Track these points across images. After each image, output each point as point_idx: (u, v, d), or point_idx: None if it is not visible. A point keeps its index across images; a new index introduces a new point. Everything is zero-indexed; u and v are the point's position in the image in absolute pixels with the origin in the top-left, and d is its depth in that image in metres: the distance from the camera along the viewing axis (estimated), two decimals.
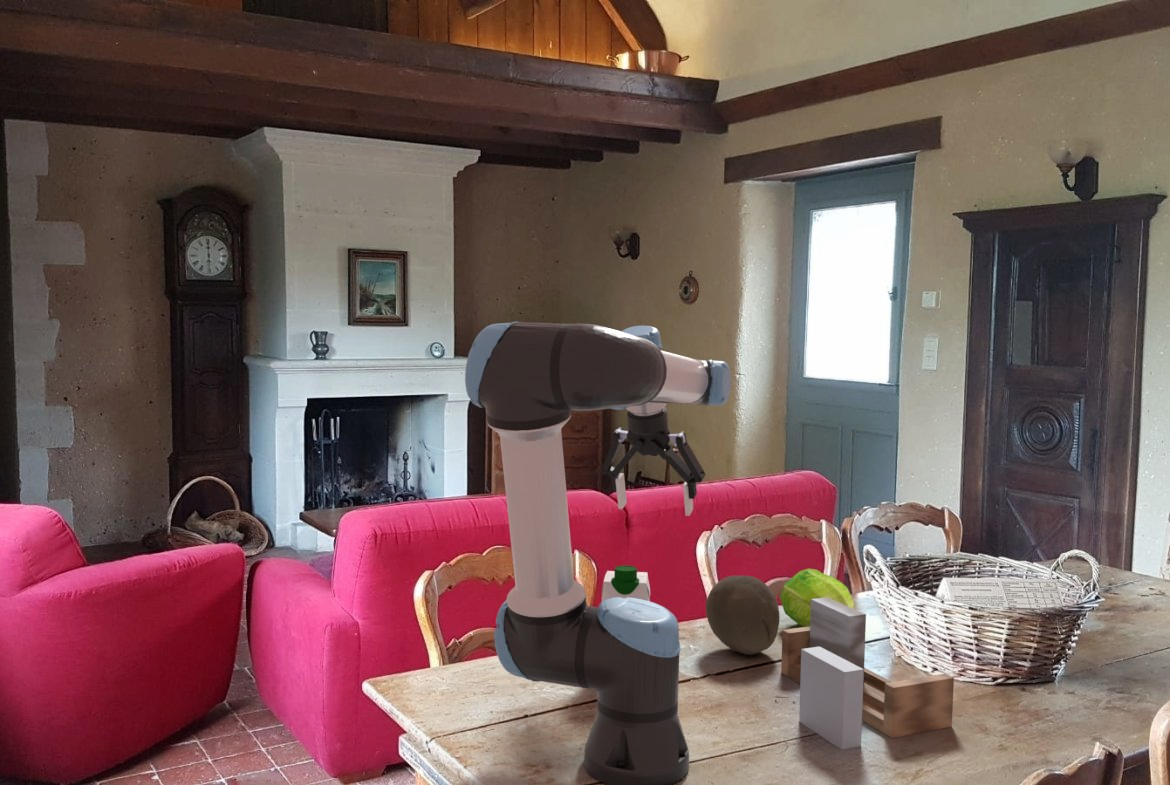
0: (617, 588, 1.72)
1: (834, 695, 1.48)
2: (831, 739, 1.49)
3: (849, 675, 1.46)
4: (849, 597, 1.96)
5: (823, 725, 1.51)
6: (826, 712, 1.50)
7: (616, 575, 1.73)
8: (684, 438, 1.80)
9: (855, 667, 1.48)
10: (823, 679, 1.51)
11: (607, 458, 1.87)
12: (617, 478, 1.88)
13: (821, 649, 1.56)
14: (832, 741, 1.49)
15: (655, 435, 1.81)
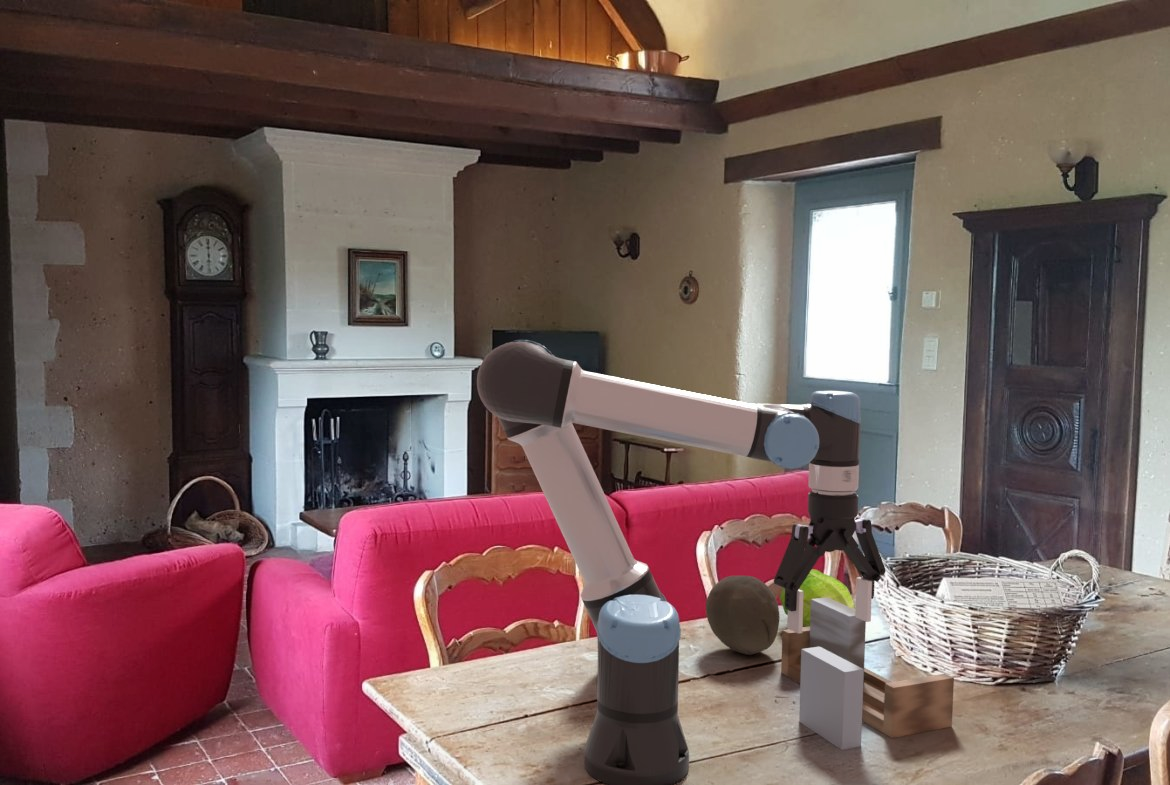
0: None
1: (834, 695, 1.48)
2: (831, 739, 1.49)
3: (849, 675, 1.46)
4: (849, 597, 1.96)
5: (823, 725, 1.51)
6: (826, 712, 1.50)
7: None
8: (798, 532, 1.48)
9: (855, 667, 1.48)
10: (823, 679, 1.51)
11: None
12: (860, 577, 1.56)
13: (821, 649, 1.56)
14: (832, 741, 1.49)
15: None
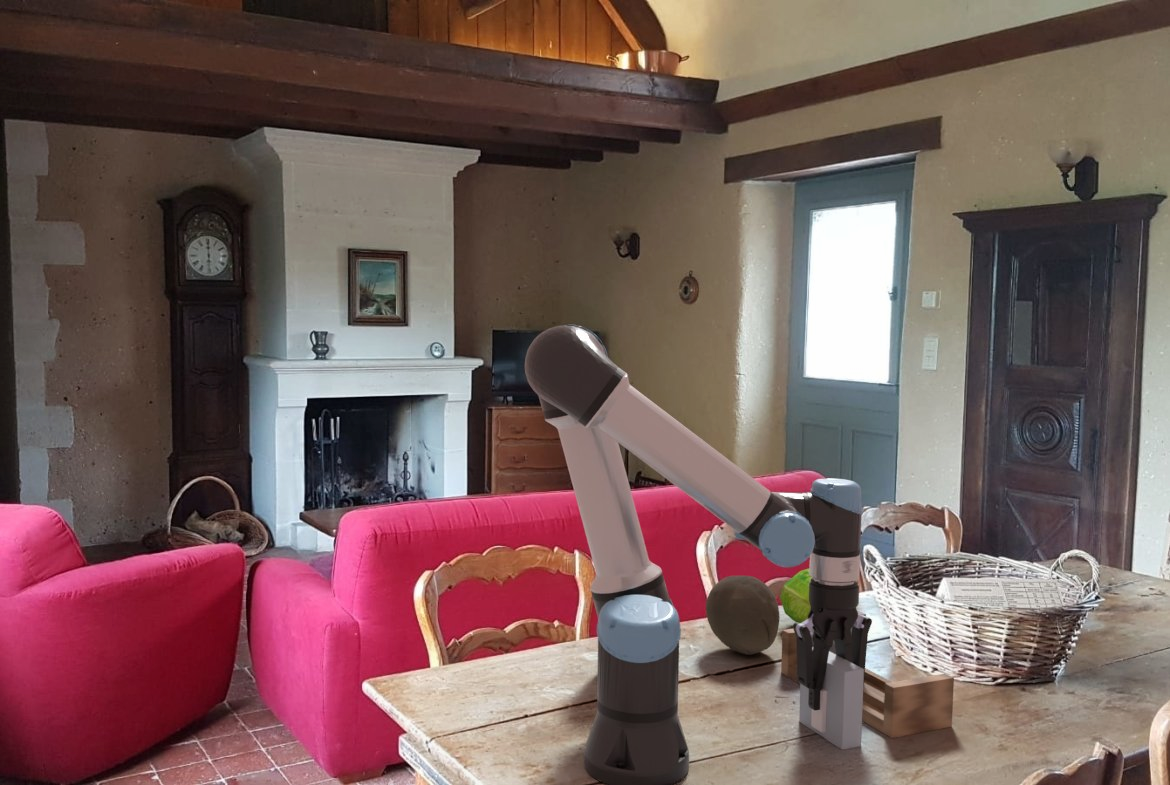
0: None
1: (834, 694, 1.48)
2: (831, 739, 1.49)
3: (849, 674, 1.46)
4: None
5: None
6: (826, 711, 1.50)
7: None
8: (799, 633, 1.48)
9: (855, 667, 1.48)
10: None
11: None
12: None
13: None
14: (832, 741, 1.49)
15: None
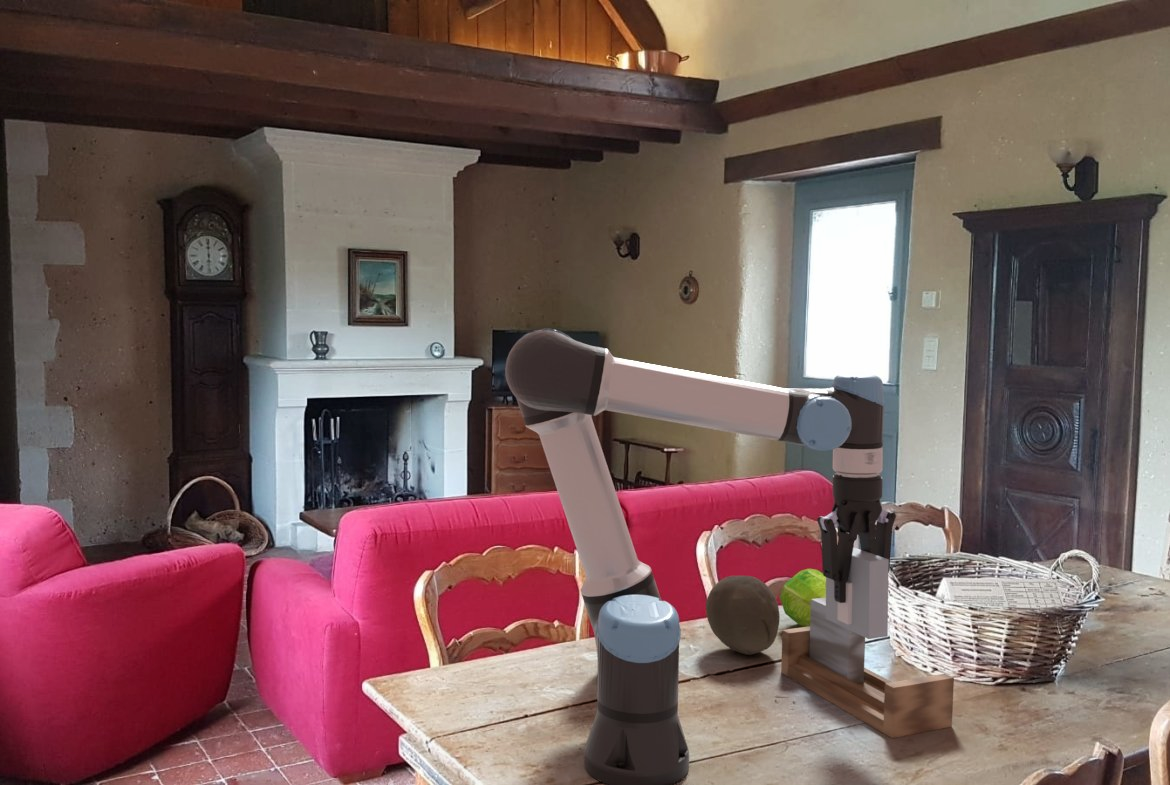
0: None
1: (859, 586, 1.50)
2: (857, 630, 1.51)
3: (874, 564, 1.48)
4: None
5: None
6: (852, 604, 1.51)
7: None
8: (824, 526, 1.50)
9: (880, 558, 1.49)
10: None
11: None
12: None
13: None
14: (858, 632, 1.50)
15: None
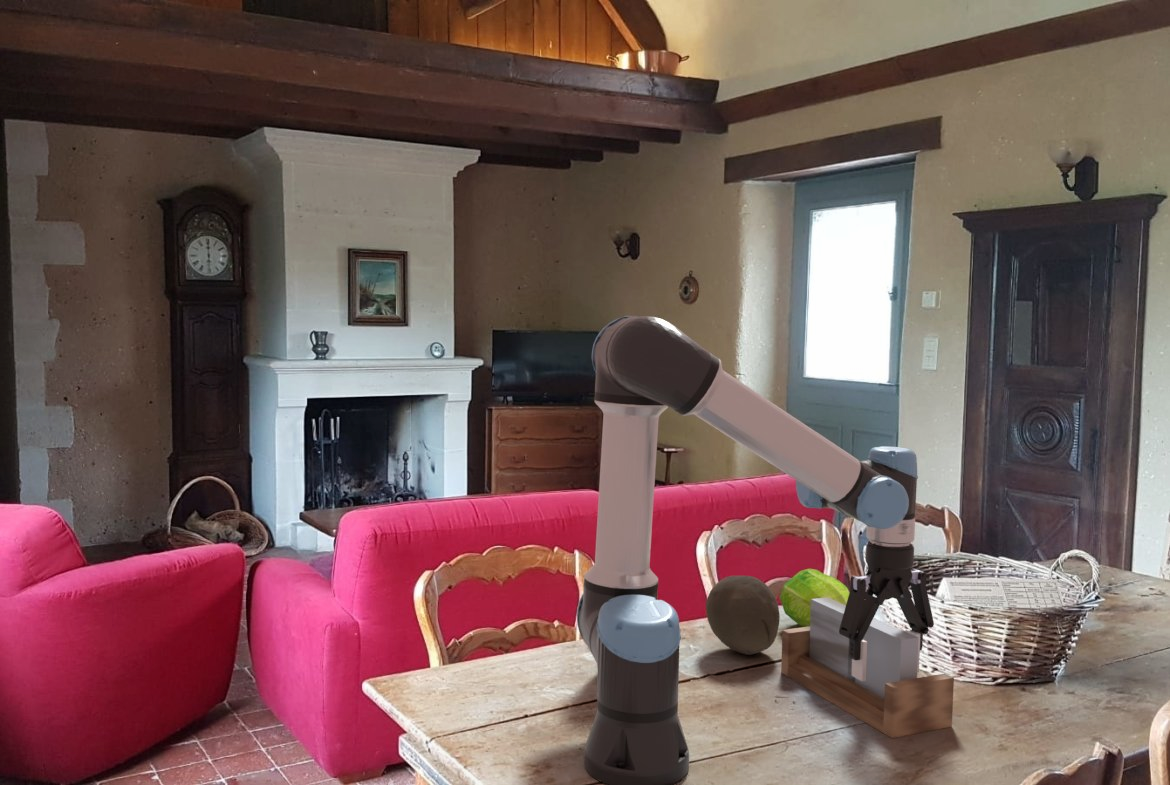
0: None
1: (890, 662, 1.57)
2: None
3: (905, 642, 1.55)
4: None
5: (879, 691, 1.60)
6: (882, 678, 1.59)
7: None
8: (856, 584, 1.57)
9: (910, 636, 1.56)
10: (879, 648, 1.60)
11: None
12: (909, 630, 1.63)
13: (876, 620, 1.65)
14: None
15: None
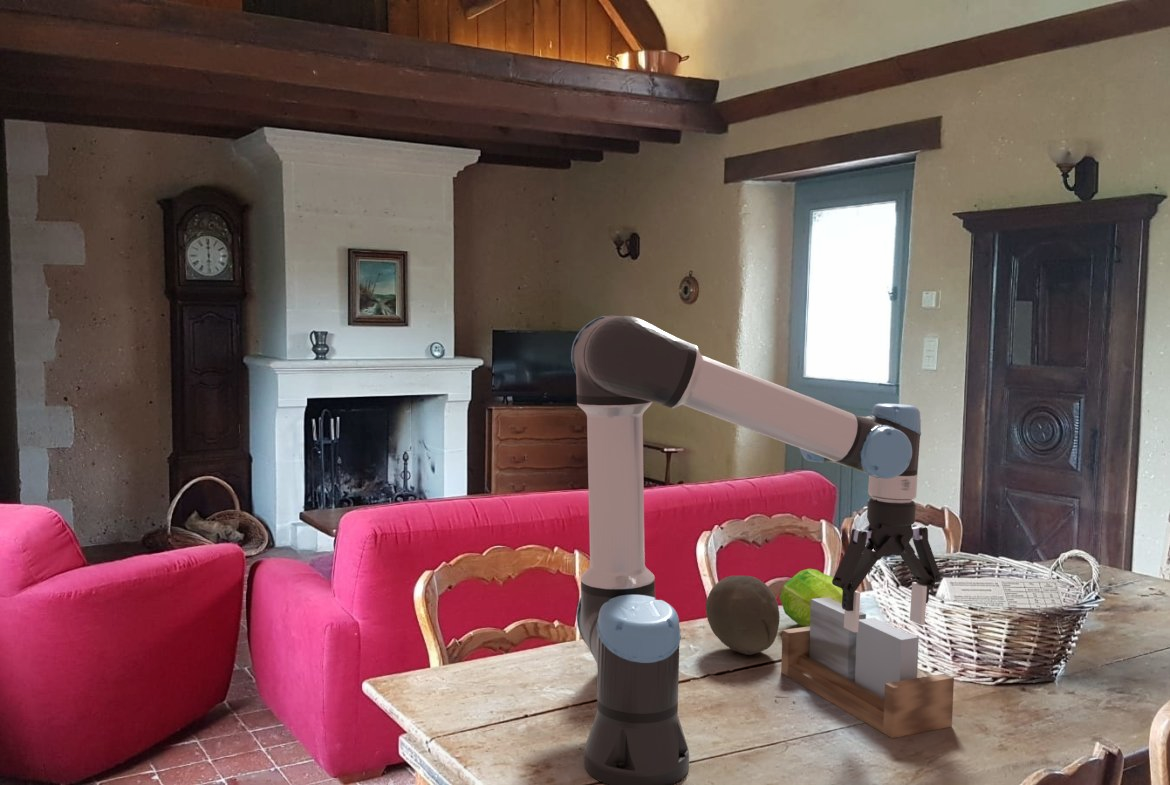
0: None
1: (890, 662, 1.57)
2: None
3: (905, 642, 1.55)
4: None
5: (879, 691, 1.60)
6: (882, 678, 1.59)
7: None
8: (856, 536, 1.56)
9: (910, 636, 1.56)
10: (879, 648, 1.60)
11: None
12: (915, 582, 1.63)
13: (876, 620, 1.65)
14: None
15: None
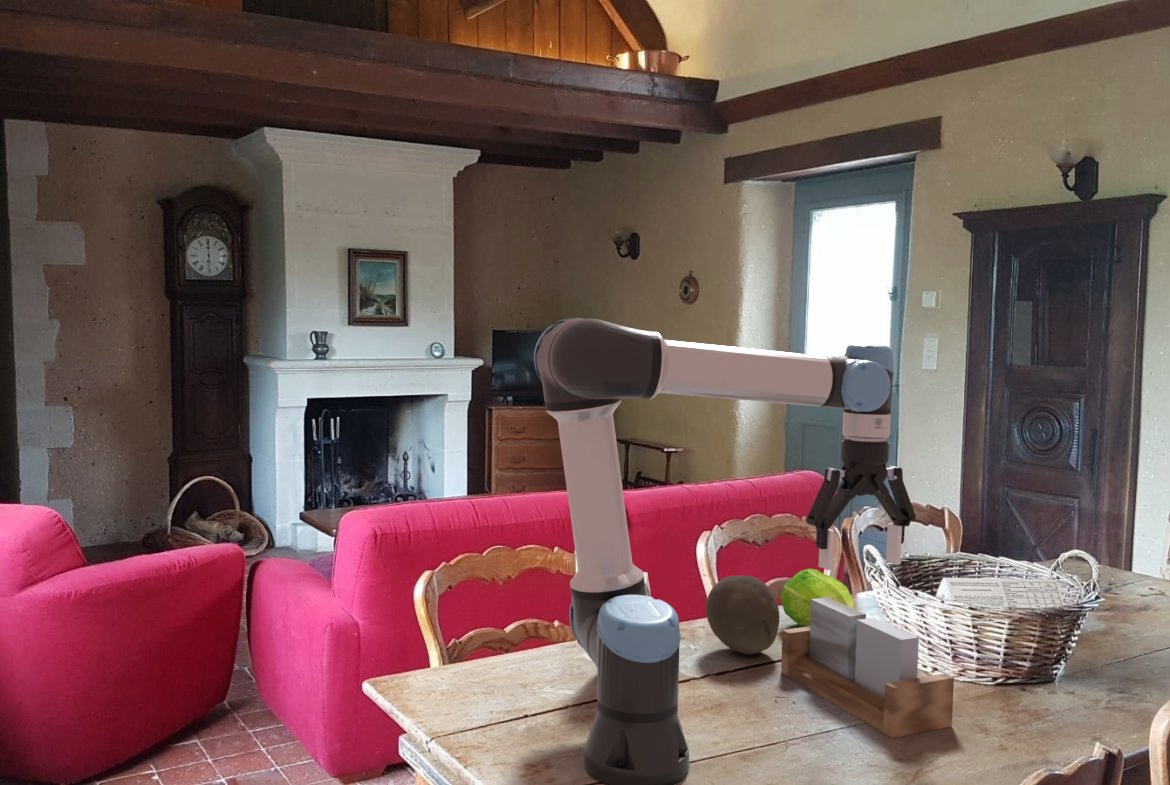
0: None
1: (890, 662, 1.57)
2: None
3: (905, 642, 1.55)
4: (849, 597, 1.96)
5: (879, 691, 1.60)
6: (882, 678, 1.59)
7: None
8: (830, 475, 1.58)
9: (910, 636, 1.56)
10: (879, 648, 1.60)
11: None
12: (891, 523, 1.65)
13: (876, 620, 1.65)
14: None
15: None
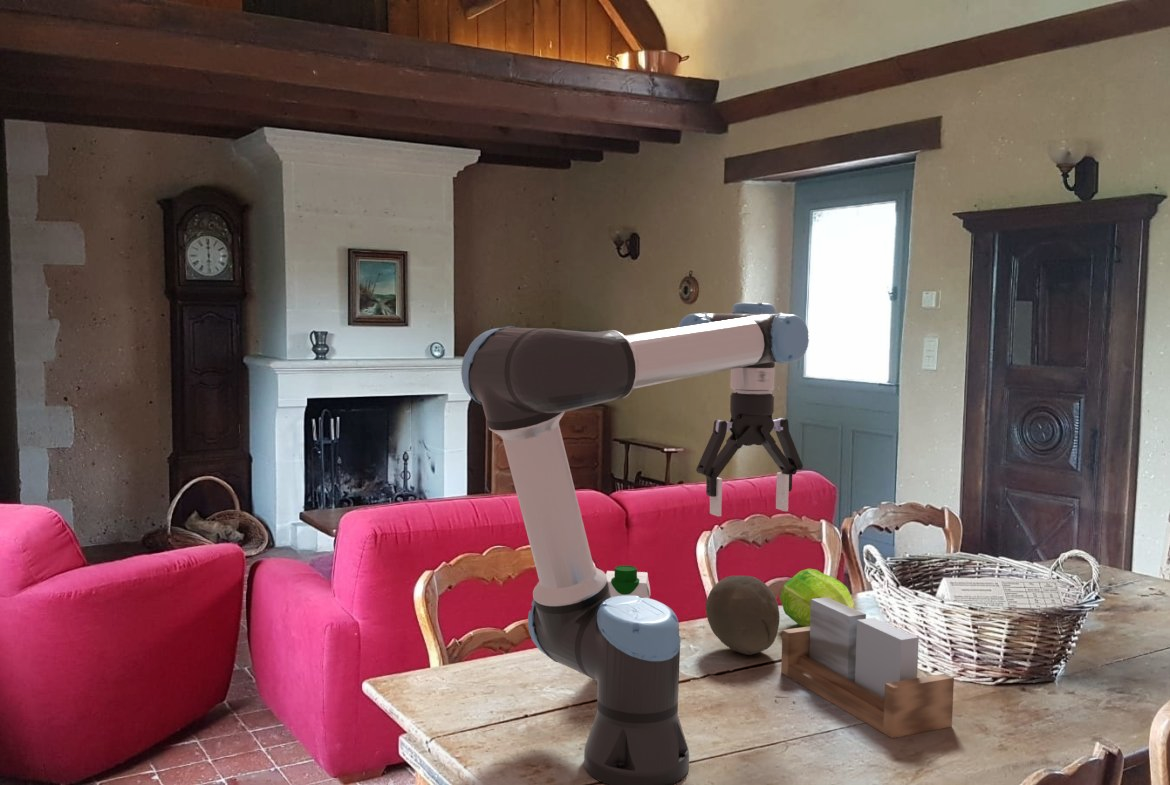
0: (617, 588, 1.72)
1: (890, 662, 1.57)
2: None
3: (905, 642, 1.55)
4: (849, 597, 1.96)
5: (879, 691, 1.60)
6: (882, 678, 1.59)
7: (616, 575, 1.73)
8: (718, 426, 1.67)
9: (910, 636, 1.56)
10: (879, 648, 1.60)
11: None
12: (780, 472, 1.74)
13: (876, 620, 1.65)
14: None
15: None
